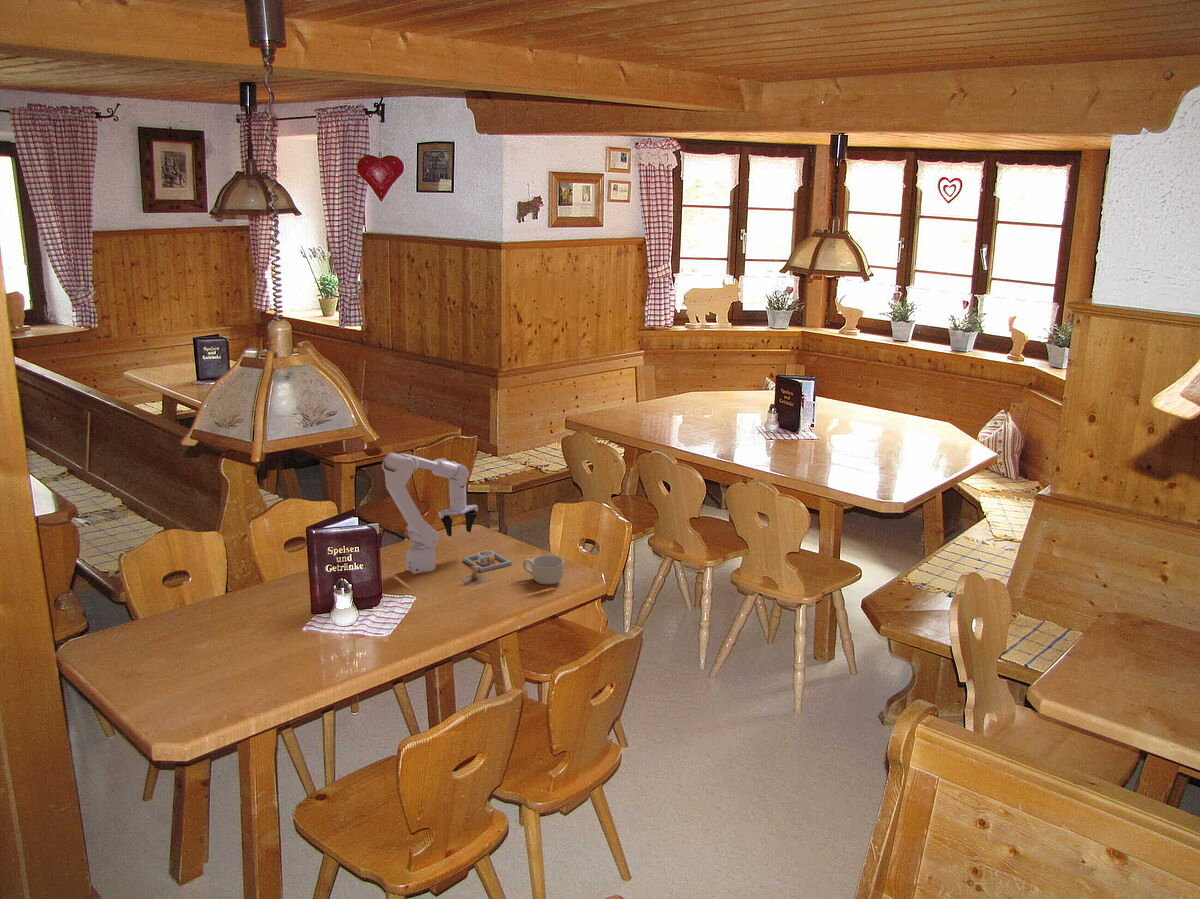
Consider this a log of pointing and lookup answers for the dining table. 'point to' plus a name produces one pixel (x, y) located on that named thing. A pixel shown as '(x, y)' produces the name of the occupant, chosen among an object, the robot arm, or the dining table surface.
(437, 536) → the robot arm
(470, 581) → the tan peg stand
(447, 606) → the dining table surface
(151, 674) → the dining table surface
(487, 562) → the ring
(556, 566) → the teacup
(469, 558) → the tray
